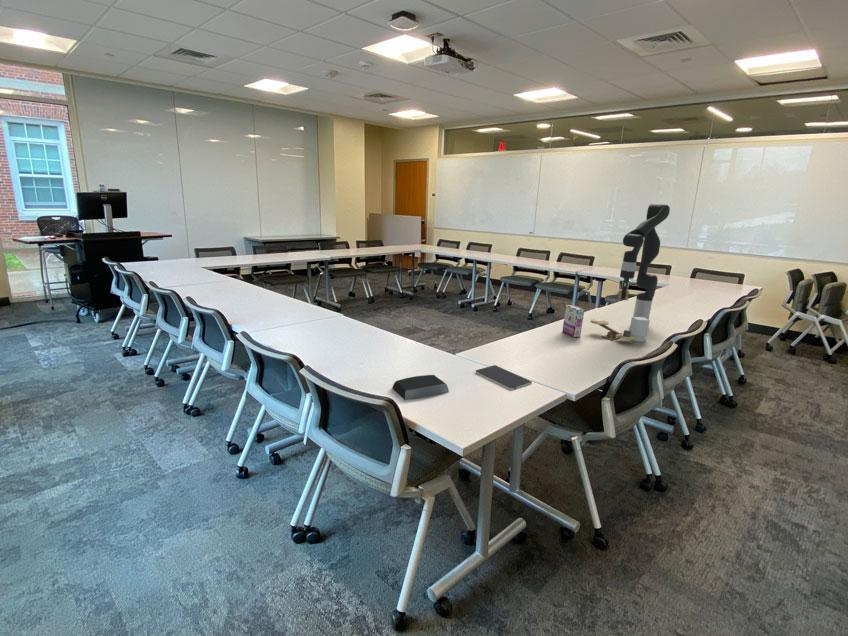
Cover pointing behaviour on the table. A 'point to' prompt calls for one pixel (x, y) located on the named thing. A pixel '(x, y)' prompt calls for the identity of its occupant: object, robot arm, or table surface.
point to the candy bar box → (573, 320)
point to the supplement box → (639, 328)
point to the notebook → (503, 377)
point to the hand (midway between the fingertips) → (623, 298)
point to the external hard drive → (420, 387)
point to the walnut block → (625, 296)
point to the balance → (613, 331)
